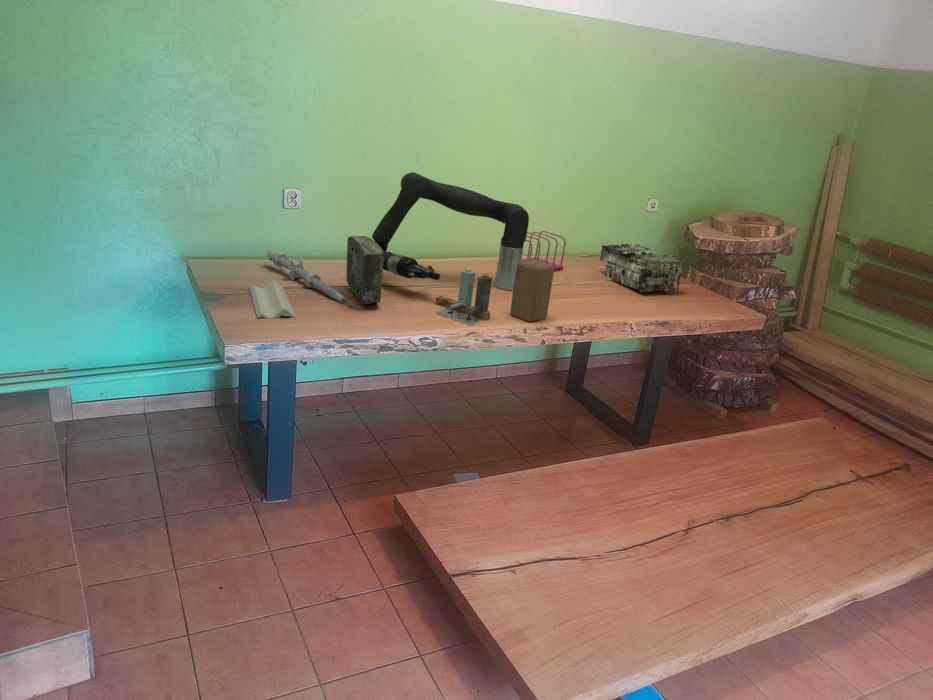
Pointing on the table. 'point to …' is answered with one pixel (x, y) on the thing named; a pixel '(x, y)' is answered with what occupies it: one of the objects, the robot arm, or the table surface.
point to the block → (532, 290)
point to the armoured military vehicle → (641, 268)
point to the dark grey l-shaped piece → (480, 300)
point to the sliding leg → (465, 289)
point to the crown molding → (271, 301)
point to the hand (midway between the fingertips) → (438, 277)
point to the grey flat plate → (458, 316)
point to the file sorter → (556, 267)
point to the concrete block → (364, 268)
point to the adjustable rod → (304, 275)
